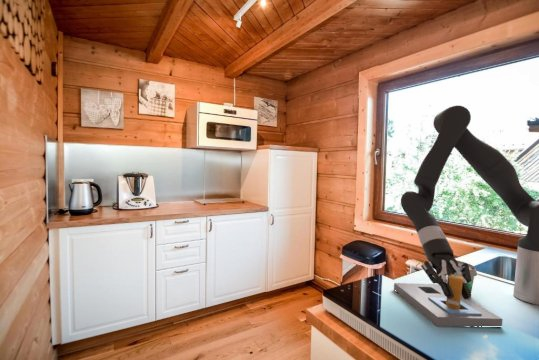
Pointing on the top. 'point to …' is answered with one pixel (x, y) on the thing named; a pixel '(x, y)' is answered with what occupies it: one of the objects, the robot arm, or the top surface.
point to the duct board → (445, 307)
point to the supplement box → (455, 291)
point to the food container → (472, 273)
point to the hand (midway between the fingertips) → (459, 297)
